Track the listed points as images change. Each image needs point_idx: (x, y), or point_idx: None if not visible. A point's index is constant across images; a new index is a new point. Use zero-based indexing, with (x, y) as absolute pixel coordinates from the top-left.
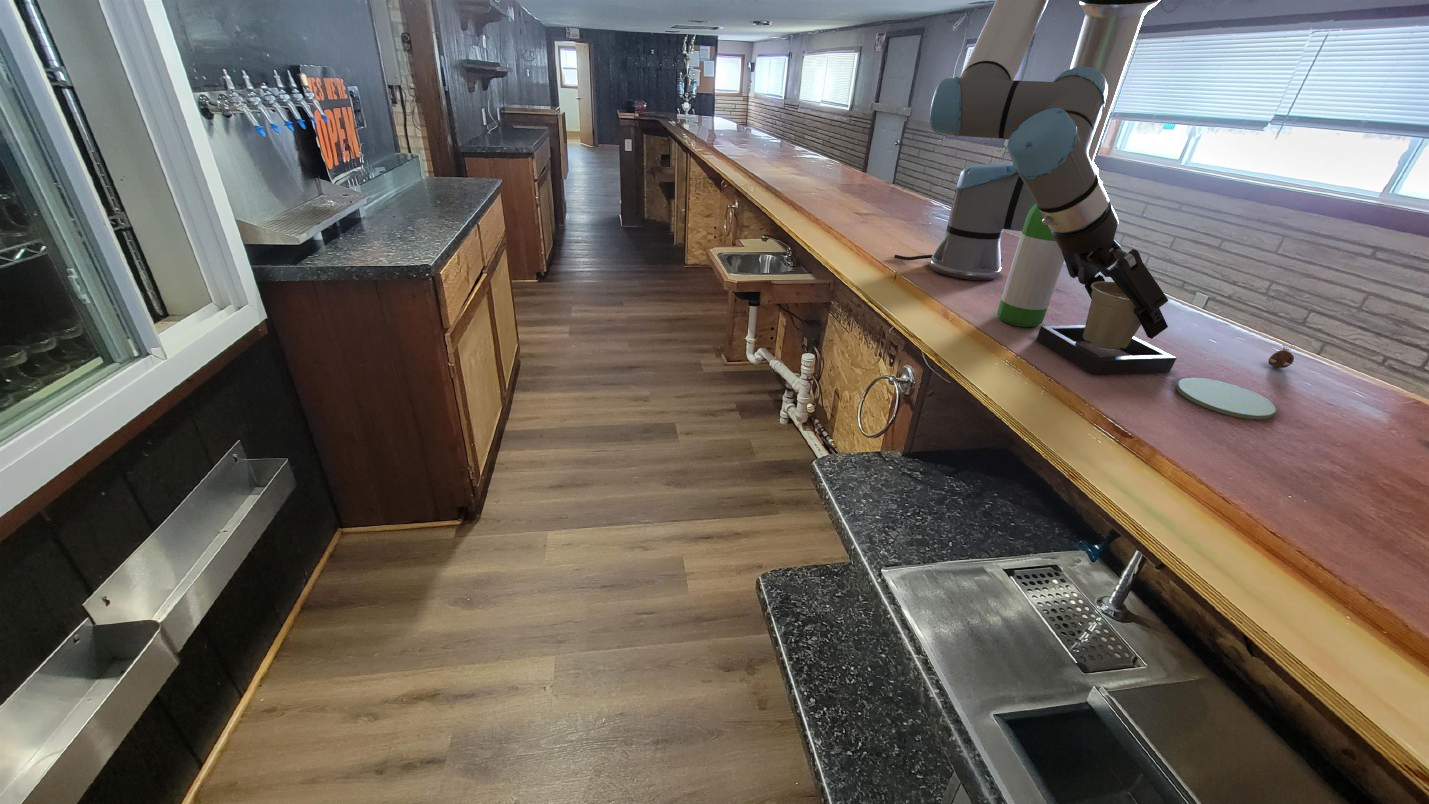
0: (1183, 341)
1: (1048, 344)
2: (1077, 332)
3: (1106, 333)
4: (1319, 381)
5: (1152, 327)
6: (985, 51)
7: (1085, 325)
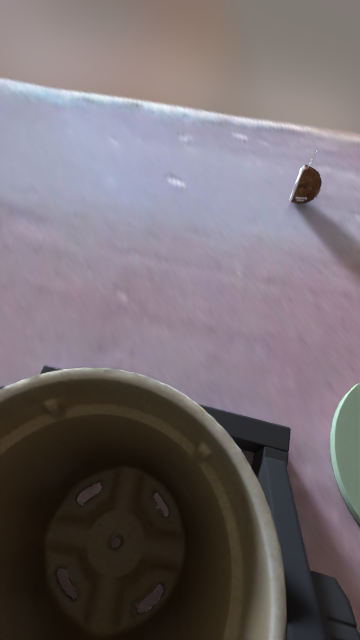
0: (156, 228)
1: None
2: None
3: None
4: (355, 195)
5: None
6: None
7: (28, 615)
